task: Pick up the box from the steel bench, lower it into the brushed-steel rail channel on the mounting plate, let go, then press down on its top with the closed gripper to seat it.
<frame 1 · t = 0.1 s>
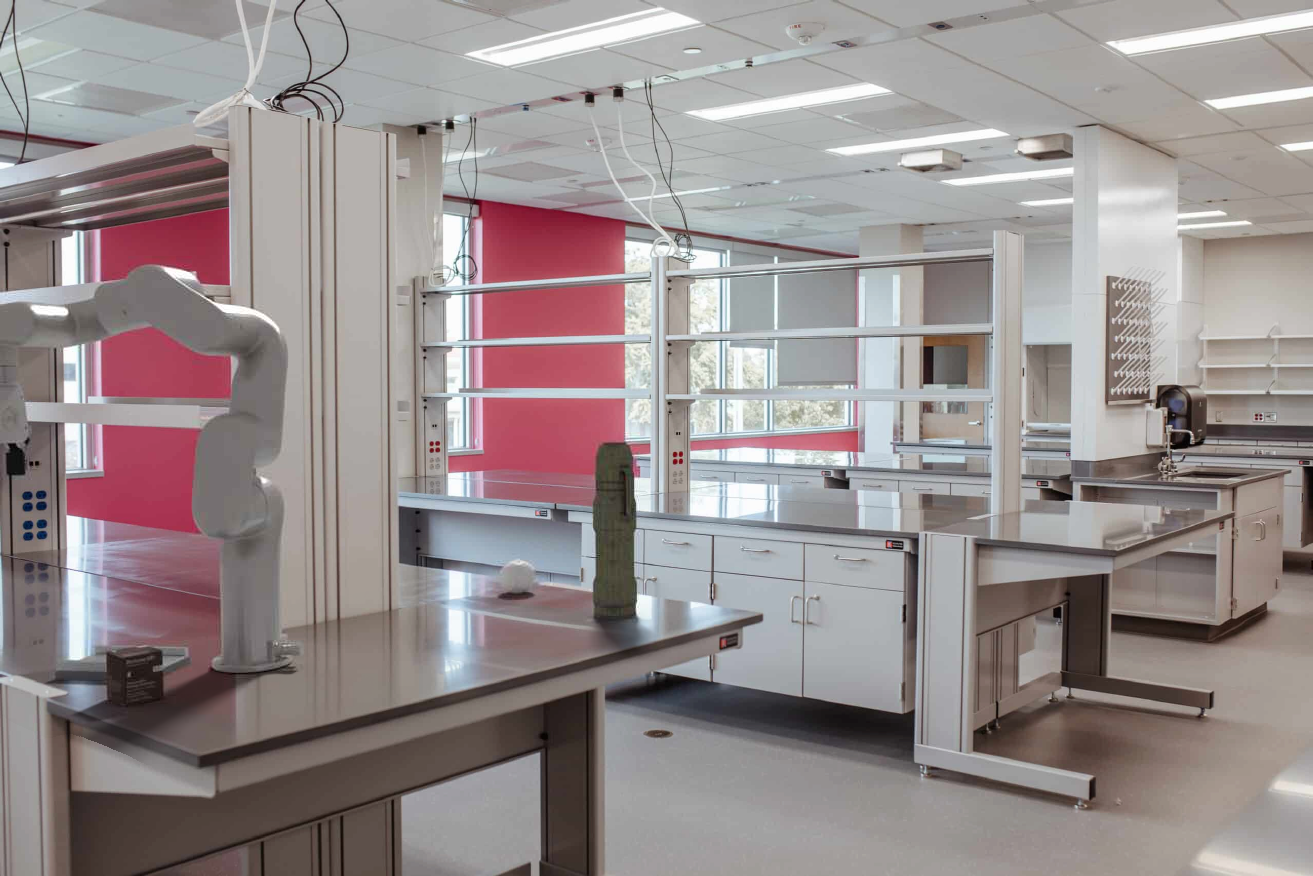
white ball: (517, 594, 247), on the workbench
thermos: (614, 615, 224), on the workbench
box: (135, 700, 165), on the workbench
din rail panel: (124, 671, 181), on the workbench
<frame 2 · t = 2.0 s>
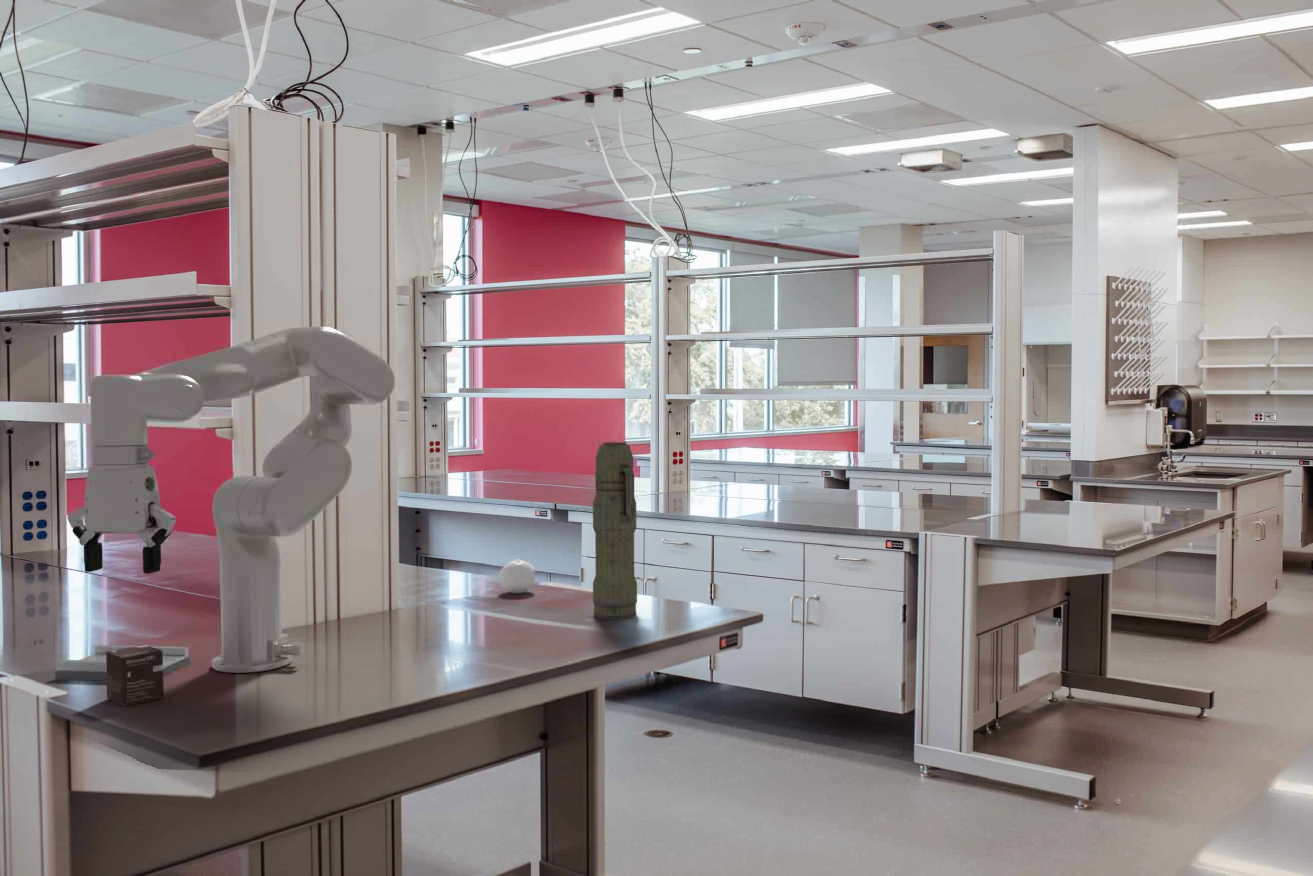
hand: (122, 571, 165), 19 cm above the workbench, tool pointing down, fingers open, 9 cm apart
nothing on the workbench moved.
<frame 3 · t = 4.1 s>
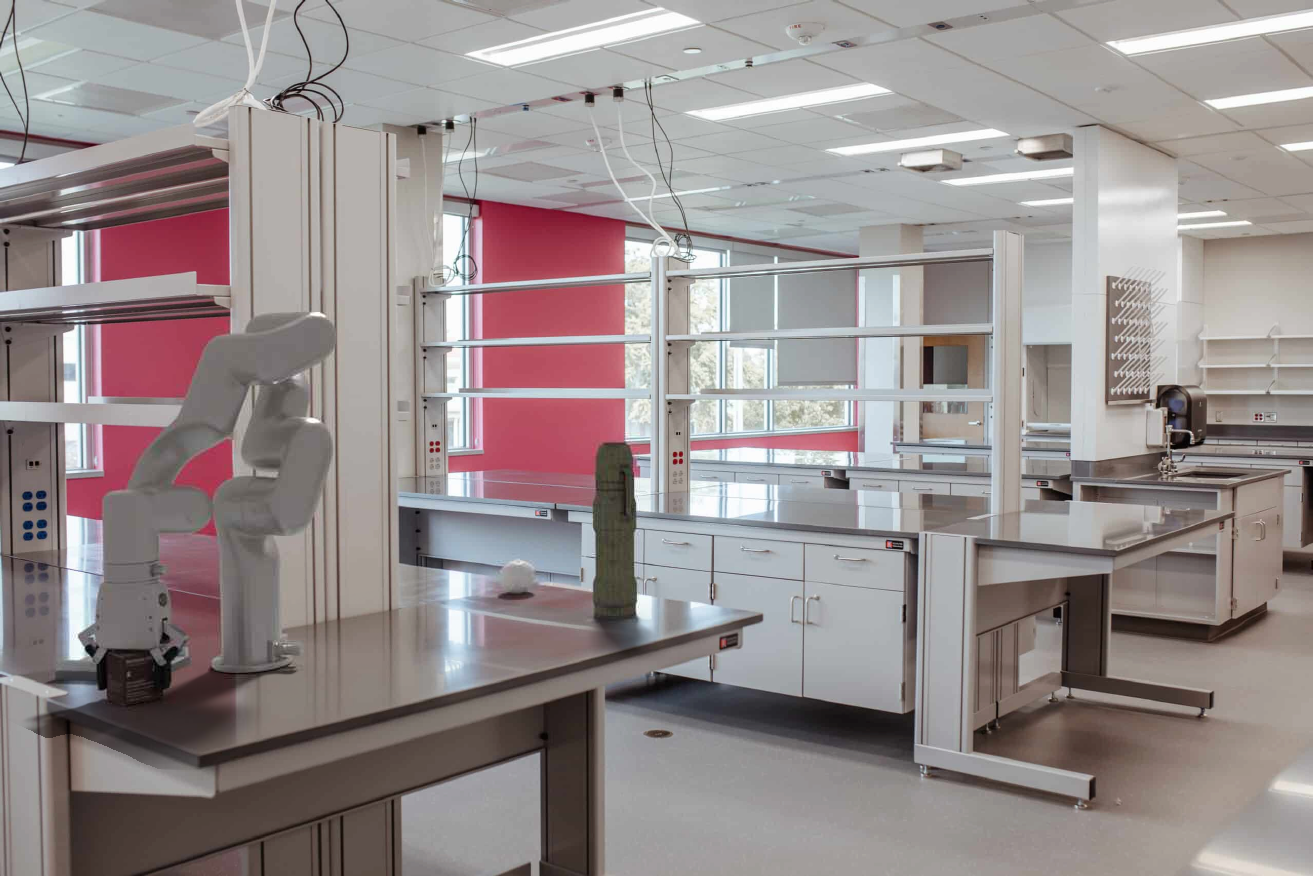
hand: (134, 688, 164), 2 cm above the workbench, tool pointing down, fingers closed on box, 8 cm apart
box: (135, 700, 165), on the workbench, touching gripper
everything else where it was.
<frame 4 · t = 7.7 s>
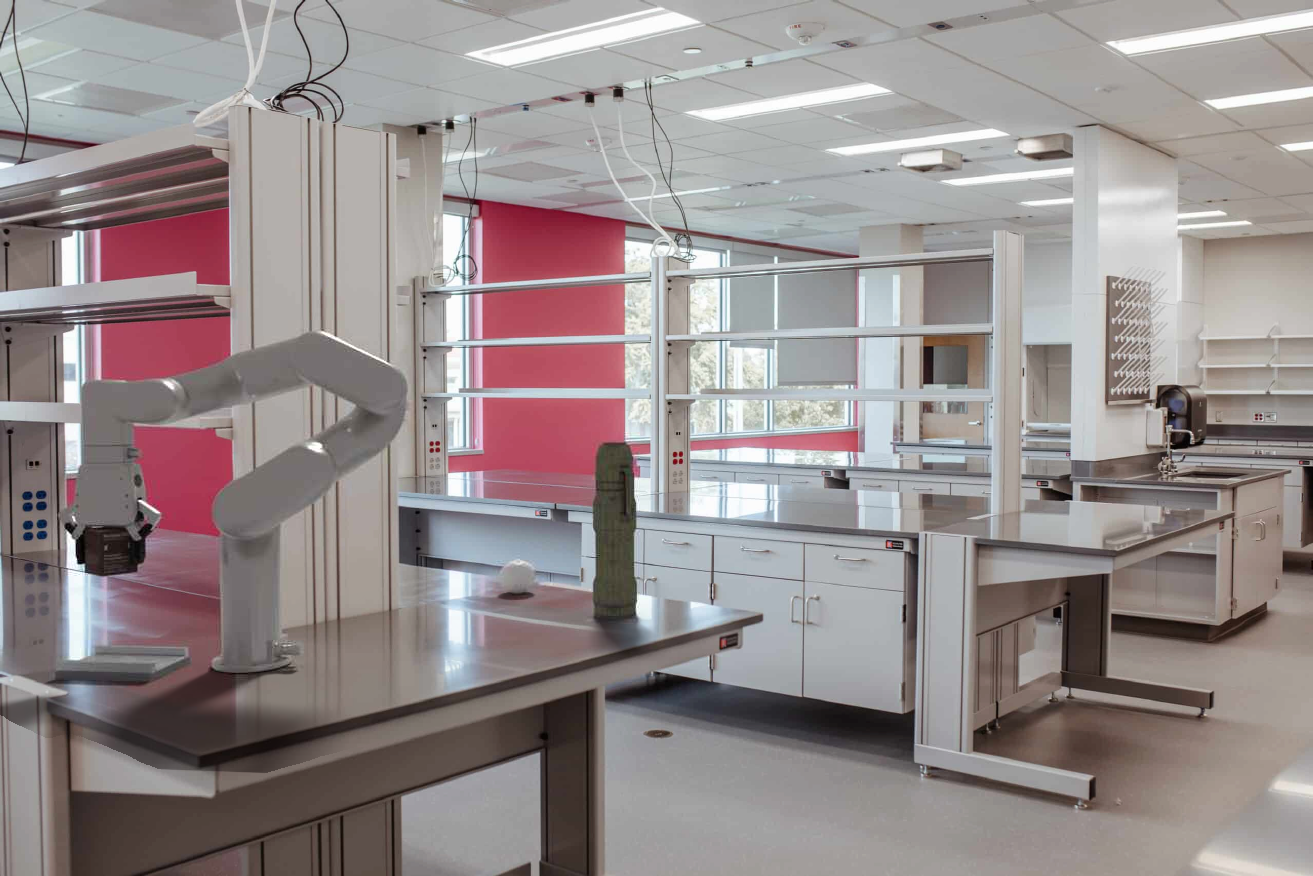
hand: (110, 563, 178), 18 cm above the workbench, tool pointing down, fingers closed on box, 8 cm apart
box: (111, 574, 178), point 16 cm above the workbench, touching gripper
everything else where it was.
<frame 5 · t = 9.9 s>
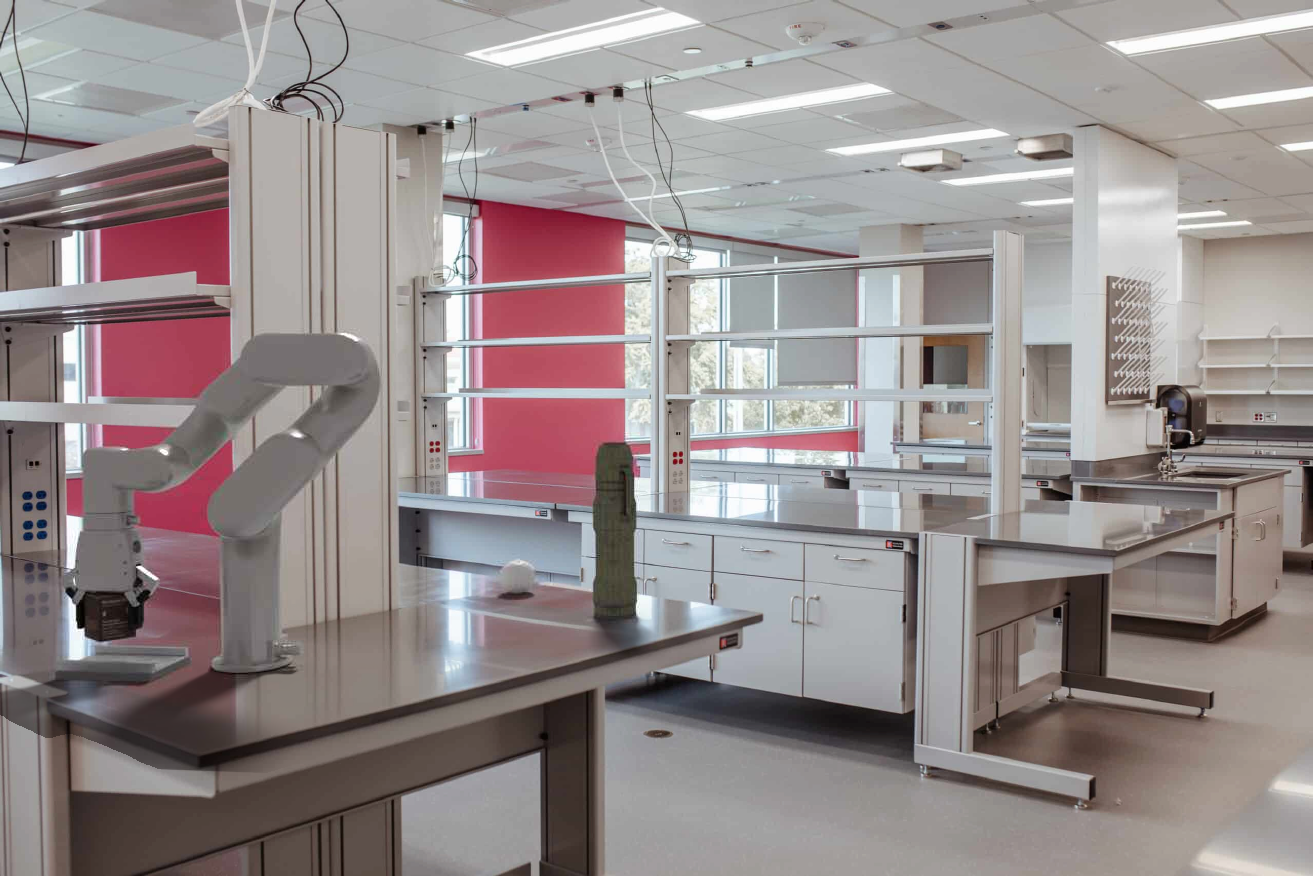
hand: (110, 627, 180), 7 cm above the workbench, tool pointing down, fingers closed on box, 8 cm apart
box: (110, 638, 181), point 5 cm above the workbench, touching gripper
everything else where it was.
when the fingers open (4 cm above the workbench, at t = 11.2 s): box stays where it is, resting on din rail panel.
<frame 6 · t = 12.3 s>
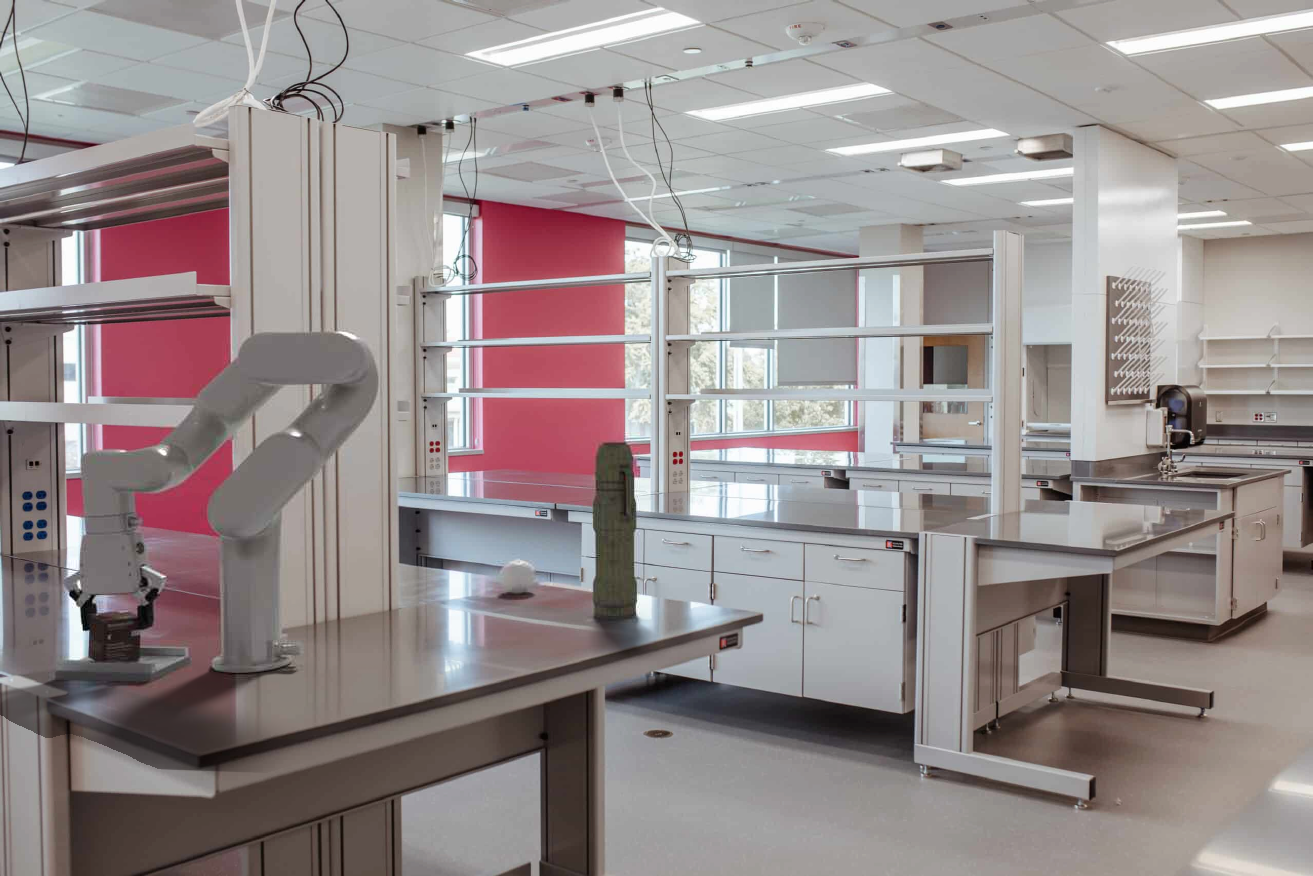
hand: (118, 628, 181), 7 cm above the workbench, tool pointing down, fingers open, 9 cm apart
box: (113, 660, 181), point 2 cm above the workbench, touching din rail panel
everything else where it was.
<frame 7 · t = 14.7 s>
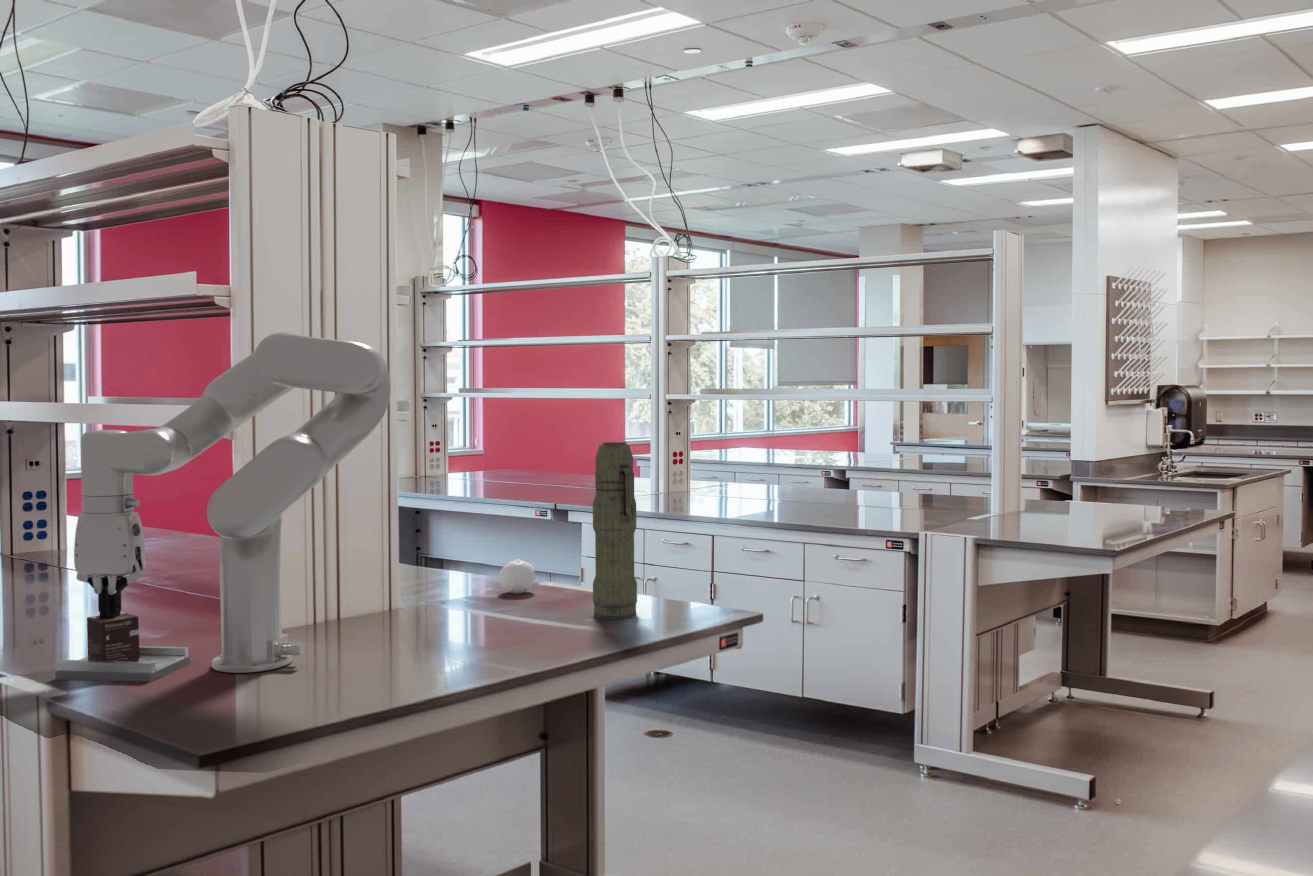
hand: (110, 616, 180), 9 cm above the workbench, tool pointing down, fingers closed
box: (113, 662, 181), point 1 cm above the workbench, touching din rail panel, gripper
everything else where it was.
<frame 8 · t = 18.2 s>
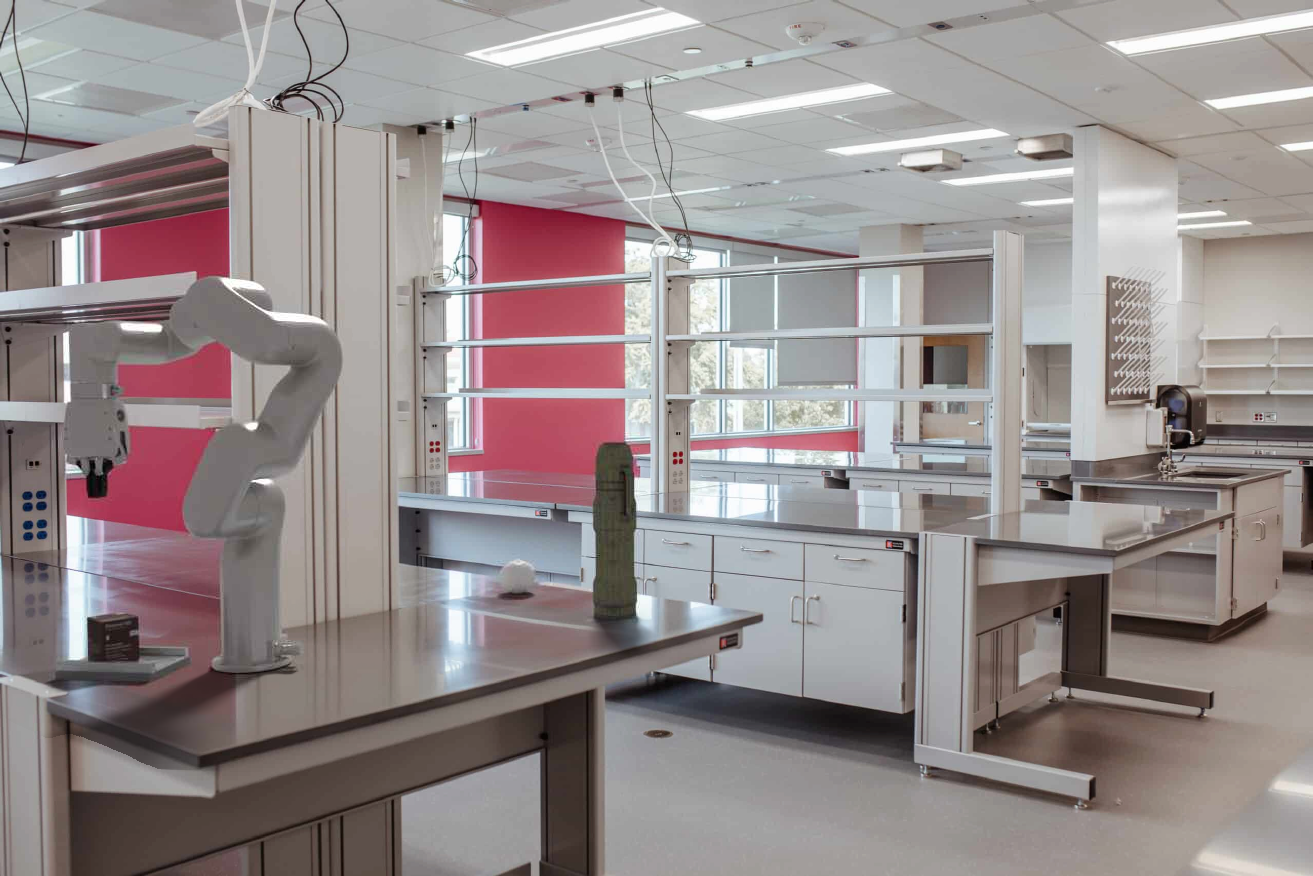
hand: (97, 497, 195), 27 cm above the workbench, tool pointing down, fingers closed
box: (113, 662, 181), point 1 cm above the workbench, touching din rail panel
everything else where it was.
at the end: box 0.1 cm from the target spot, point 1.4 cm above the workbench; box tilted 0°; the gripper is holding nothing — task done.
